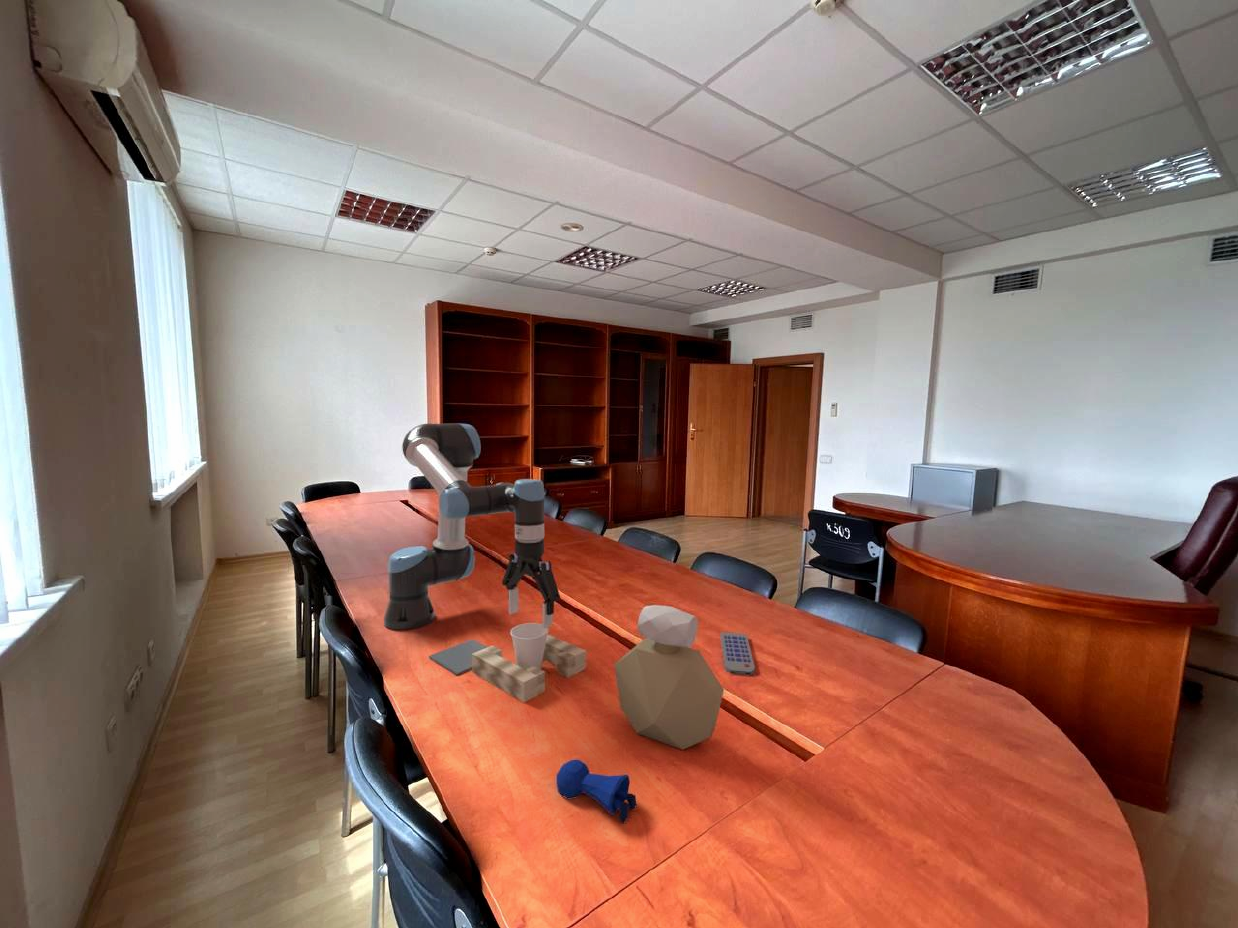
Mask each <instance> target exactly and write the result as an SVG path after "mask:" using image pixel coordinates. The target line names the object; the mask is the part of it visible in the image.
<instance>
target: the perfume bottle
mask: <svg viewBox="0 0 1238 928" xmlns="http://www.w3.org/2000/svg"><path fill="white" fill-rule="evenodd" d="M637 621H638V622H637V631H638V633H639V635H640V636H643V637H644V638H643V639H642V640H641V641H640V642H638V644H636V645H635V646H633V648H631V649H630V650H629V651H628V652H627V653H626V654H624V655H623V656H622V657H620V659H618V660H617V661H616V662H615V663H613V666H614V673H615V681H616V685H617V693H618V700H619V706H620V707H619V708H620V709H621V711H622V712H623V714H624V715H625V717H626V719H627V720H628V722H629V723H630V724H631V726H632V728H633V729H634V731H635V732H636V734H638V735H641V736H643V737H647V738H649V739H653V740H654V741H658V742H660V743H663V744H665V745H669V746H671V747H674V748H677V749H680V750H684V751H685V750H686V749H688V748H691V747H693V746H695V745H696V744H699V743H701V742H703V741H705V740H707V739H709V738H711V737H712V735H713V733H714V731H715V729H716V725H717V720H718V716H719V712H720V707H721V704H722V699H723V695H724V691H725V690H724V688H723V686H722V684H721V682H720V681H719V680H718V678H717V676H716V675H715V674H714V672H713V670H712V669H711V668H710V666H709V664H708V662H707V661H706V660H705V658H704V656H703V655H702V653H701V651H700V650H699V649H697V648H691V647H692V646H693V645H694V643H695V642H696V639H697V635H698V629H699V623H698V618H697V616H696V615H693V614H691V613H688V612H685V611H683V610H681V609H678V608H675V607H673V606H668V605H659V604H657V605H646V606H644V607H643V609H641V610H640V614H639V617H638V620H637Z"/></svg>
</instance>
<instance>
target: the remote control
mask: <svg viewBox="0 0 1238 928" xmlns="http://www.w3.org/2000/svg"><path fill="white" fill-rule="evenodd" d="M719 636H721V637H720V643H721V652H722V651H723V653H722V660H724V661H723V668H725V669H724V671H725V670H726V671H727V672H726V671H725V672H726V673H728V672H729V673H728V674H730V673H731V674H730V675H743V676H750V675H751V676H753V675H754V674H755V673H754V672H755V670H756V668H755V662H754V658H753V655H752V650H751V646H750V643H749V638H748V635H747V633H735V632H734V633H732V632H722V631H721V632H720V635H719ZM732 673H733V674H732ZM752 674H753V675H752Z"/></svg>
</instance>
